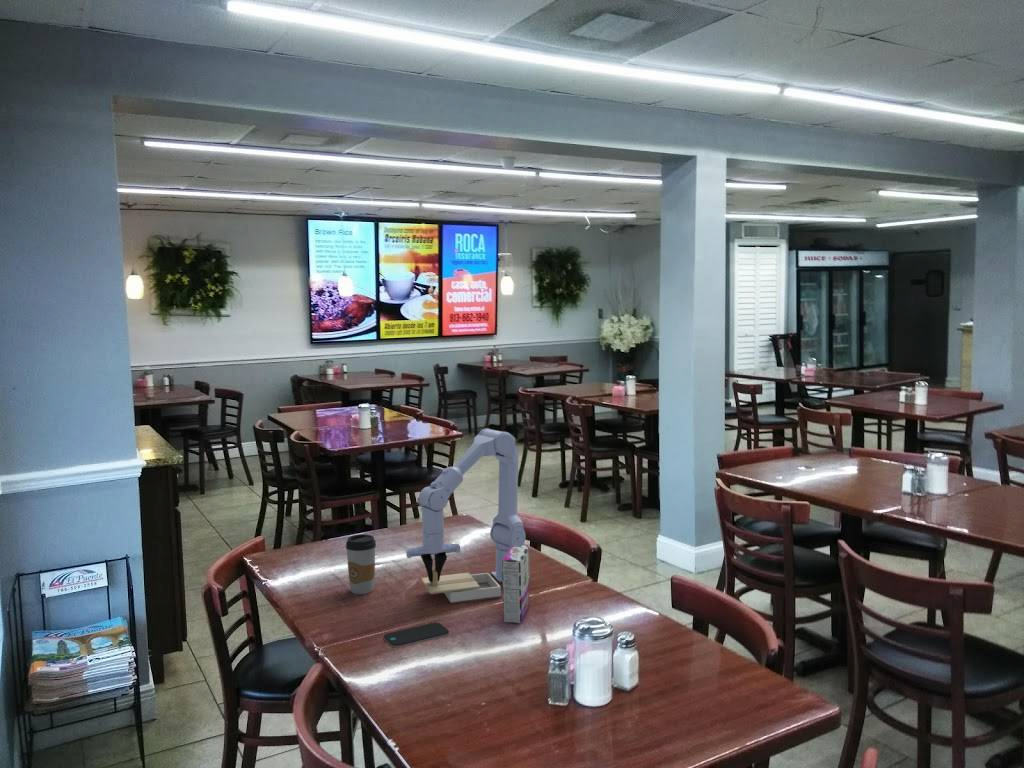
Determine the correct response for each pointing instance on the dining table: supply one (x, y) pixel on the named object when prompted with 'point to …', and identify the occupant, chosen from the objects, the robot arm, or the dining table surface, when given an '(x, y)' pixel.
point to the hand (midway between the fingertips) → (433, 580)
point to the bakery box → (476, 590)
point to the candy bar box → (515, 584)
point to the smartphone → (416, 634)
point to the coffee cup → (361, 563)
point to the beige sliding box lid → (449, 582)
